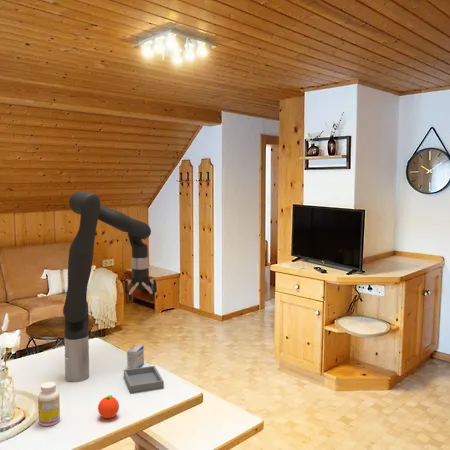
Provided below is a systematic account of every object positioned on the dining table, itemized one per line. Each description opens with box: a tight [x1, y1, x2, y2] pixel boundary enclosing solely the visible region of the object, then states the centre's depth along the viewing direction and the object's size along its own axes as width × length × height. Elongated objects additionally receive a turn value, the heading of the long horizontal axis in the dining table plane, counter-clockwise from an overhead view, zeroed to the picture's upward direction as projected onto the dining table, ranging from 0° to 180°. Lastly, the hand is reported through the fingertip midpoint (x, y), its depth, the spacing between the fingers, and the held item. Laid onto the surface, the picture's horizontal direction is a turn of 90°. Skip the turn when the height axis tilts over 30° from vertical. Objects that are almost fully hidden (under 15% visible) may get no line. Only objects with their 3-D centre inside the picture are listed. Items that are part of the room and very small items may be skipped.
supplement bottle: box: [37, 381, 61, 427], centre depth 156 cm, size 7×7×13 cm
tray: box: [123, 365, 165, 394], centre depth 186 cm, size 13×16×3 cm
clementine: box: [97, 394, 120, 419], centre depth 160 cm, size 8×7×7 cm
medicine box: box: [126, 344, 145, 369], centre depth 201 cm, size 8×4×9 cm, turn 168°
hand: (141, 301), depth 213 cm, fingers open, 8 cm apart
